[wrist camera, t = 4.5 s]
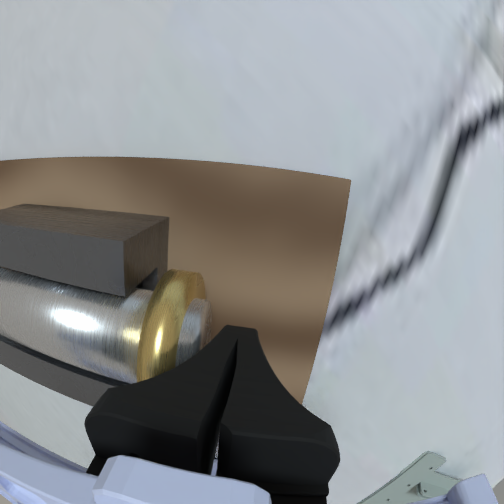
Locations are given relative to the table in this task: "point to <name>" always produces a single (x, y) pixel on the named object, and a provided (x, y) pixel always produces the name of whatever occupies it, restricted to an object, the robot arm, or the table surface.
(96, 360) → the shaft
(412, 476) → the metal bracket
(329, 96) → the table surface
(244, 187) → the base board
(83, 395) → the bearing block
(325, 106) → the table surface
